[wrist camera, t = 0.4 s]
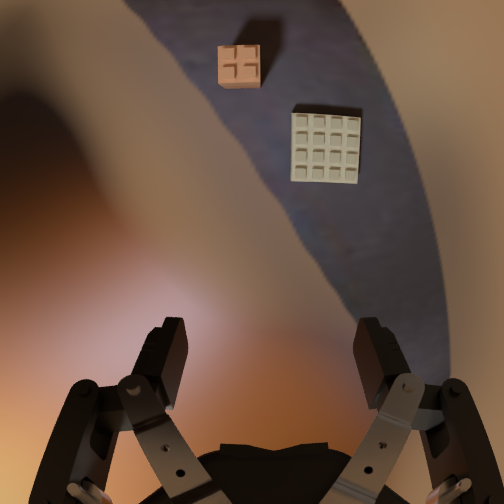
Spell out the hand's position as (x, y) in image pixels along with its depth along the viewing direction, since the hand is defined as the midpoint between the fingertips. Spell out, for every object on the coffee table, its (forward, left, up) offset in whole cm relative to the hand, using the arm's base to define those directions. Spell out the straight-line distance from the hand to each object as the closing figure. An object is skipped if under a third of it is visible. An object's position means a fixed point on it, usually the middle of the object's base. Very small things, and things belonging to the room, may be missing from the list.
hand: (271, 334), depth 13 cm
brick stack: (-15, -3, -26) cm, 30 cm away
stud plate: (-6, +7, -26) cm, 27 cm away
